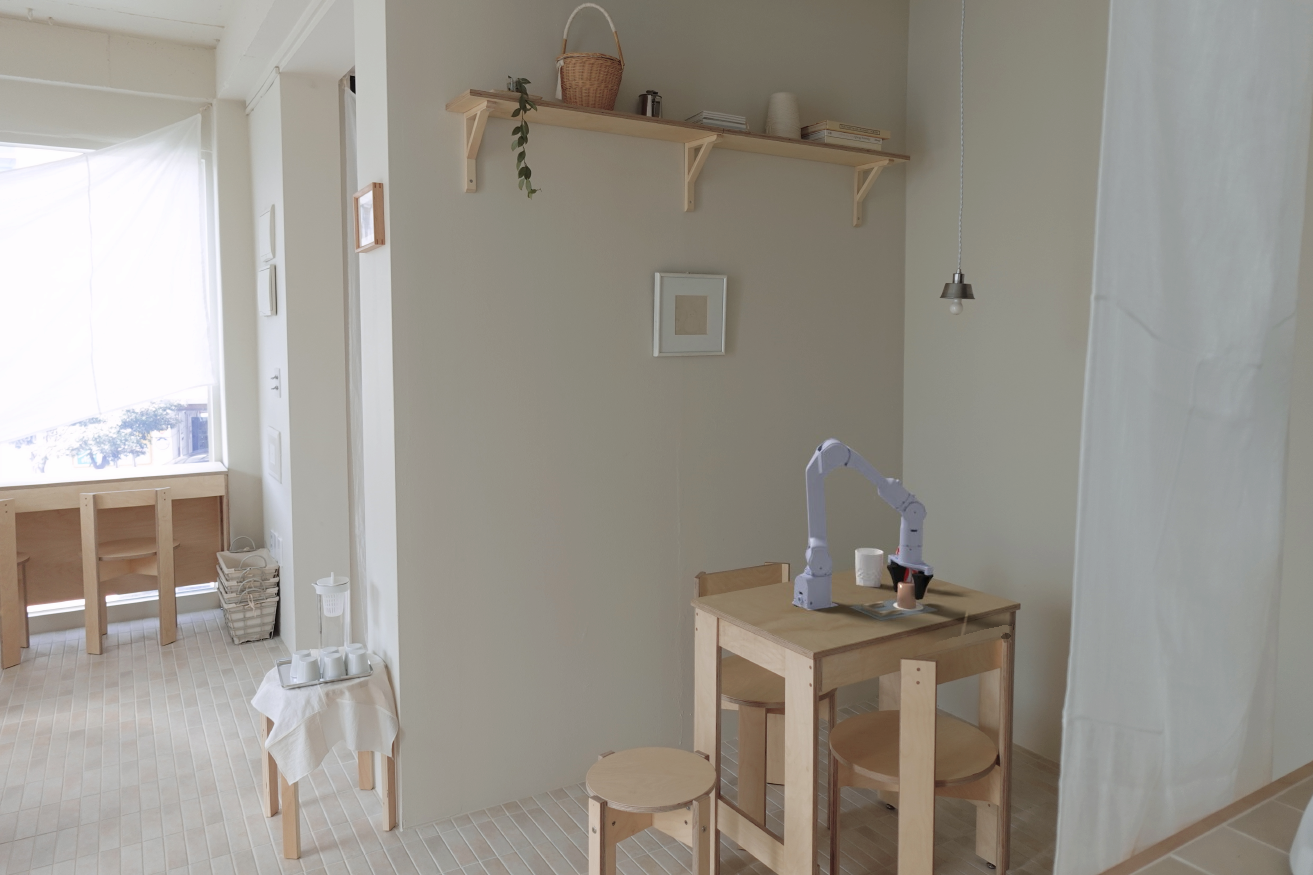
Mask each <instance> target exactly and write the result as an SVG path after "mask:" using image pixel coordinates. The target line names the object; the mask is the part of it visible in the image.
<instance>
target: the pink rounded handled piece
mask: <svg viewBox="0 0 1313 875" xmlns="http://www.w3.org/2000/svg"><path fill="white" fill-rule="evenodd" d="M927 596H928V587H927V588H926V591H925V594H924V597H923V598H925V597H927ZM896 599H897V606H898V607H899V608H903V609H915V608H916V602H917V600H916V599H915V586H914V583H913V582H899V583H898V592H897V598H896Z"/></svg>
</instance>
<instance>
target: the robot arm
mask: <svg viewBox="0 0 1313 875" xmlns="http://www.w3.org/2000/svg"><path fill="white" fill-rule="evenodd" d="M842 466H844V467H845V468H851V469H856V470H857V471H858V472H859V473H860V474H861V475H863V476H864V477H865V478H866V479H867V480H868V481H870V482H871V483H872V484H874V486H876V488H877V494H878V495H877V496H879V497H880V498H881V499H883V501H885V502H886V503H888V505H889V506H891V507H892V508H893V509H894V510H895V511H898V512H899V515H901V517H900V528H899V545H900V547H899V556H897V555H895V554H888V556H887V562H888V563H889V564H887V565H886V569H887V571H888V572H889V574H890V577H891V581H892V585H893V589H894V592H895V593H898V583H899V582H904V576H905V572H906V569H907V568H910V569H913V570H916V571H918V573H912V577H913V580H914V586H915V599H916V601H920V600H923V599H924V598H925V597H924V594H925V591H926V588H927V589H928V586H929V584H930V583H931V582H930V581H931V580H932V579H933V578H934V567H933V566H931V565H929V564H927V563H926V562H924V561H925V560H924V559H923V558H922V557H923V542H924V540H923V539H924V526H923V525H924V520H925V519H926V517H927V513H928V512H927V510H926V507H925V505H924V504H923V502H921V501H920V500H919V499H918V498H917V497H916V494H915V493H913V492H909V490H907V489H906V488H905V487H904V486H903V485H902V484H903V482H902V481H901V480H900V479H898V478H897V479H895V478H894V477H893V478H892V477H889V478H887V477H885V476H884V475H883V474H882V473H880V472H879V471H878V470H877V469H876V468H875V467H874V466H873V465H872V464H871V463H870V462H868V461H867V460H866V459H865V458H864V457H863V456H862V455H861V454H860V453H859V452H857V451H856V450H854V449H853V448H851V447H849V446H848V445H846V444H844V443H843V442H842V441H841V440H839V439H838V438H828V439H825V440H824V441H823V442H822V443H821V444H819V445H818V446H817V447H816V449H815V452H814V454H813V455H812V457H811V459H810V461H809V462H808V464H807V466H806V468H805V486H806V487H805V489H806V507H807V524H808V526H807V527H808V528H807V530H808V538H807V540H808V541H807V542H808V544H807V548H806V551H805V554H804V555H805V556H804V557H805V560H806V562H807V565H806V567H805V568H804V571H803V573H801V574H798V575H797V576H796V577H795V579H794V584H793V589H794V590H793V601H791V604H792V605H795V606H797V607H799V608H800V607H802V608H804V609H805V610H809V611H813V610H820V609H825V608H831V607H832V608H833V607H837V606H839V604H837V603H835V602H832V593H833V591H832V590H833V589H832V588H833V584H832V583H833V570H832V568H833V565H834V562H833V557H832V556H831V555H830V552H829V543H828V534H827V532H828V531H827V516H826V515H827V513H826V490H825V478H826V477H827V476H828V475H829V474H830V473H831V472H832V471H833V470H836V469H838V468H841V467H842Z"/></svg>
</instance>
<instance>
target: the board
mask: <svg viewBox="0 0 1313 875" xmlns="http://www.w3.org/2000/svg"><path fill="white" fill-rule="evenodd" d="M882 602H884V603H883V606H880V607H874V608H873V609H875V610H878V611H880V612H882V611H888V610H894V609H899V607H898V606H897V598H896V599H889V600H885V601H882ZM861 605H862V604H859V605H855V606H850V607H849V609H850V608H851V609H853V610H855V611H858V612H860V613H862V614H865V615H868V616H870V617H871V618H874V619H877V620H879V621H886V620H887V621H888V620H892V619H898V618H903V617H908V616H913V615H914V616H915V615H919V614H925V613H932V612H937V611H938V609H936V608H934V607H930V606H928V605H925V604H923V603H920V602H919V601H918V602H917V601H916V608H915V609H903V608H900V609H902V613H900V614H894V615H888V616H883V617H879V616H877V615H875V614H872V613H870V612H867V611H865V610H863V609H860V607H861Z"/></svg>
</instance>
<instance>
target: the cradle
mask: <svg viewBox="0 0 1313 875" xmlns="http://www.w3.org/2000/svg"><path fill="white" fill-rule="evenodd" d="M883 603H884V602H883V601H876V602H875V601H874V602H870V603H869V602H868V603H864V604H863V603H862V604H860V605H861V607H860V609H863V610H865V611H867V612H870V613H872V614H875V615H877V616H879V617H883V616H888V615H894V614H900V613H902V609H900V608H899V609H894V610H888V611H882V612H880V611H878V610H875V609H873V608H874V607H880V606H883Z"/></svg>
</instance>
